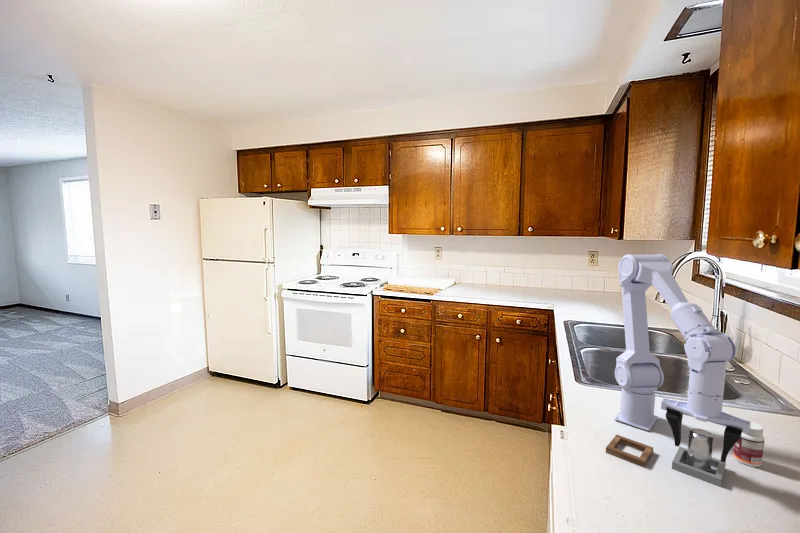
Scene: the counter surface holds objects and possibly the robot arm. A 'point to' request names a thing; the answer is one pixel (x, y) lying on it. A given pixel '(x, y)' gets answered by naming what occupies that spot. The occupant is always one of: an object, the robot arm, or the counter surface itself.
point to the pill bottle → (750, 446)
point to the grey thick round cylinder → (700, 449)
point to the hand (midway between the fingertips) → (699, 451)
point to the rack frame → (699, 473)
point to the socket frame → (626, 456)
